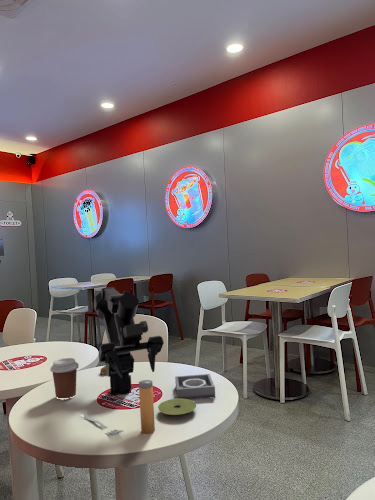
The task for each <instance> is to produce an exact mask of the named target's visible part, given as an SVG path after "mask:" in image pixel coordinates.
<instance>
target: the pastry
mask: <svg viewBox="0 0 375 500" xmlns="http://www.w3.org/2000/svg"><path fill="white" fill-rule="evenodd" d="M100 374H101V375H106V376H108V375H107V374H106V365H104V366H103V367H101V368H100Z"/></svg>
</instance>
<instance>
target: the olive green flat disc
mask: <svg viewBox="0 0 375 500" xmlns="http://www.w3.org/2000/svg"><path fill="white" fill-rule="evenodd" d="M157 406H158V407H157V409H158V411H159V412H160V413H163V414H165V415H171V416H177V415H185V414H187V413H188V414H189V413H191V412H193V411H194V410H195V409H196V408H197V403H196V401H194V400H193V399H190V400H189V399H182V398H179V399H177V398H171V399H167V400H164V401H162V402H160V403H159V405H157Z"/></svg>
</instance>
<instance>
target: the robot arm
mask: <svg viewBox="0 0 375 500" xmlns="http://www.w3.org/2000/svg"><path fill="white" fill-rule="evenodd" d="M122 292H123V293H120V292H119V291H118V290H117V289H116V287H114V286H111V287H110V286H109V287H103V288H101V289H100V292H99V293H98V294H96V296H95V297H94V300H93V309H94V311H95V312H96V315H97V317H98V318H100V319H101V320H102V321H103V325H104V329H105V334H106V338H107V341H108V342H107V343H101V344H100V346H99V351H98V357H99V358H98V359H99V362H104V363H105V366H106V374H107V375H106V376H107V377H108V378H109V383H110V391H109V395H112V396H113V395H122V394H130V392H131V389H132V375H131V373H134V369H135V368H134V365H135V358H134V356H133V354H132V353H131V352H136V351H142V350H146V351H147V358H148V362H149V366H150V370H151V372H152V373H154V372H155V370H156V365H155V364H156V356H157V355H158V353H160V352H162V349H163V347H164V343H165V342H164V338H163V337H162V336H161V335H156V336H155V335H154V336H153V335H152V336H149V337H148V338H147V341H144V342H141V341H142V339H143V337H142V335H144V333H147V332H148V331H149V326H148V322H147V321H146V320H141V321H139V323H135V317H136V316H137V310H138V306H139V303H140V301H139V298H138V297H137V296H136V295H135V294H132V293H131V292H130V290H126V291H122Z"/></svg>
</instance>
